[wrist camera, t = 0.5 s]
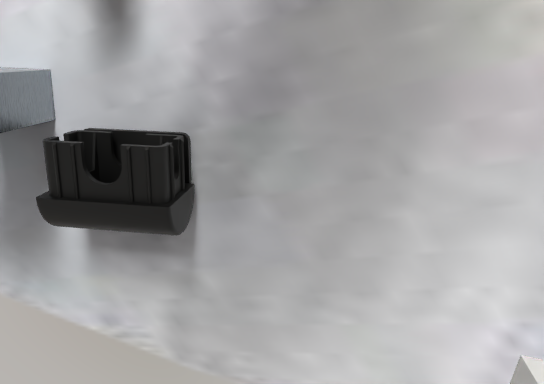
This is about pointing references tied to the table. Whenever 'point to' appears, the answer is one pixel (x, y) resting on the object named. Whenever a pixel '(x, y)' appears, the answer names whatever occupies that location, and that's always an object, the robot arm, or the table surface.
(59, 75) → the table surface
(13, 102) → the housing
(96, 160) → the end cap
